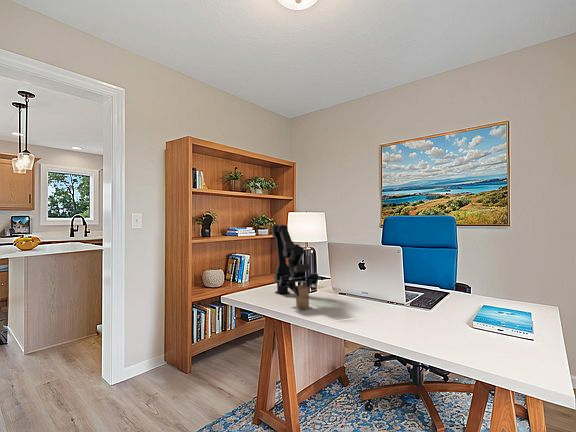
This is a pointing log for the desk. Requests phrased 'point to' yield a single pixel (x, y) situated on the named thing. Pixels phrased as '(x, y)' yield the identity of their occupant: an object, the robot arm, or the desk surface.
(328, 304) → the sage plate
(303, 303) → the walnut block
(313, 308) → the slate tile
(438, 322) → the desk surface
